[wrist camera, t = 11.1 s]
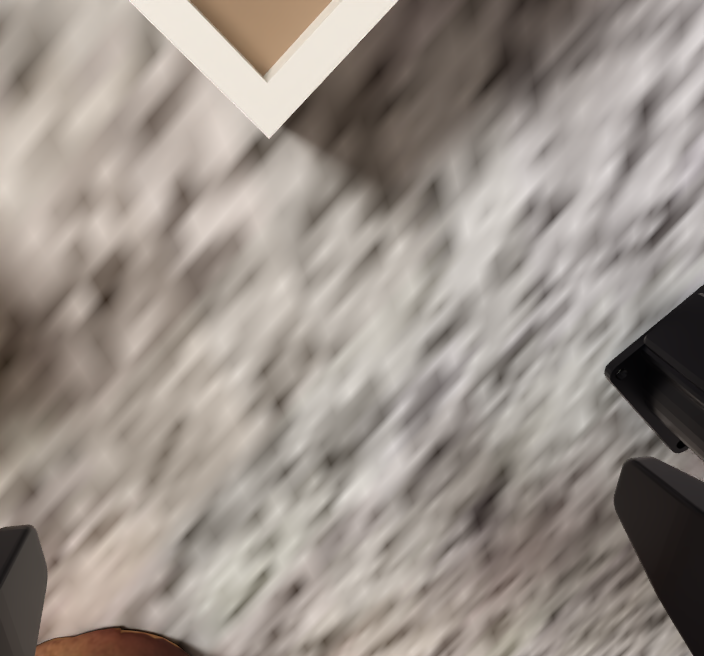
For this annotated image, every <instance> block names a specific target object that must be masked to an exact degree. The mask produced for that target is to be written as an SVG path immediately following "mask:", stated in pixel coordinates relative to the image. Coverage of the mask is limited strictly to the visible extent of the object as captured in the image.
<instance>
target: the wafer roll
mask: <svg viewBox="0 0 704 656" xmlns="http://www.w3.org/2000/svg"><path fill="white" fill-rule="evenodd" d="M35 656H189V655H188V654H187V653H186V652H185V651H184V650H183V649H181V648H180V647H179V646H178V645H176V644H174V643H172V642H170V641H169V640H167V639H165V638H162V637H159V636H156V635H153V634H148V633H144V632H138V631H130V630H121V627H119V628H110V629H103V630H96V631H92V632H88V633H84V634H81V635H78V636H75V637H63V638H54V639H51V640H48V641H46V642H43V643H41V644H39V645H37V646H36V652H35Z"/></svg>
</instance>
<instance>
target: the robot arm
mask: <svg viewBox="0 0 704 656" xmlns="http://www.w3.org/2000/svg"><path fill="white" fill-rule="evenodd" d="M619 370H621V371H620V372H619V373H618V374H616V373H617V372H618V371H619ZM605 376H606V378H607V379H608V380H609V381H610V382H611V383H612V385H613V386H614V387H615V388H616V389H617V390H618V391H619V392H620V394H621V395H622V396H623V397H624V398H625V399H626V400H627V401H628V403H629V404H630V405H631V406H632V407H633V408H634V409H635V410H636V412H637V413H638V414H639V415H640V416H641V417H642V418H643V419H644V421H645V422H646V423H647V424H648V425H649V426H650V427H651V428H652V430H653V431H654V432H655V433H656V434H657V435H658V436H659V437H660V438H661V440H662V441H663V442H664V443H665V444H666V445H667V446H668V447H669V448H670V449H671V450H672V451H673V452H675V453H681V452H684V451H685V450H687V449H688V448H690V449H691V450H692V451H693V452H694V453H695V454H696V455H697V456H698V457H699V458H700V459H702V460H703V461H704V285H703V286H701V287H700V288H699V289H698V290H697V291H695V292H694V293H693V294H692V295H691V296H689V297H688V298H687V299H686V300H685V301H683V302H682V303H681V304H680V305H678V306H677V307H676V308H675V309H674V310H672V311H671V312H670V313H669V314H668V315H666V316H665V317H664V318H663V319H662V320H660V321H659V322H658V323H657V324H656V325H654V326H653V327H652V328H651V329H649V330H648V331H647V332H646V333H645V334H643V335H642V336H641V337H640V338H639V339H637V340H636V341H635V342H634V343H633V344H631V345H630V346H629V347H628V348H626V349H625V350H624V351H623V352H622V353H620V354H619V355H618V356H617V357H616V358H614V359H613V360H612V361H611V362H610V363H609V364H608V365H607V366H606V368H605ZM614 506H615V510H616V513H617V515H618V517H619V519H620V521H621V523H622V525H623V527H624V529H625V531H626V533H627V535H628V537H629V540H630V542H631V544H632V546H633V548H634V550H635V552H636V554H637V556H638V558H639V560H640V562H641V564H642V566H643V568H644V570H645V572H646V574H647V577H648V579H649V581H650V583H651V585H652V587H653V588H654V590H655V592H656V594H657V596H658V598H659V600H660V601H661V603H662V605H663V607H664V608H665V610H666V612H667V613H668V615H669V617H670V618H671V620H672V622H673V623H674V625H675V627H676V628H677V630H678V631H679V633H680V635H681V636H682V638H683V640H684V641H685V643H686V645H687V646H688V648H689V650H690V651H691V653H692V654H693V656H704V482H702V481H700V480H698V479H696V478H694V477H692V476H690V475H688V474H686V473H684V472H682V471H680V470H678V469H676V468H674V467H672V466H670V465H668V464H666V463H664V462H662V461H660V460H658V459H656V458H654V457H638V458H630V459H628V460H626V461H625V463H624V464H623V466H622V470H621V473H620V477H619V480H618V484H617V487H616V490H615V494H614ZM47 577H48V575H47V565H46V562H45V558H44V555H43V551H42V548H41V544H40V541H39V537H38V534H37V531H36V529H35V528H34V526H32V525H19V526H10V527H4V528H1V529H0V656H35V652H36V646H37V640H38V634H39V628H40V622H41V616H42V610H43V604H44V598H45V593H46V587H47Z"/></svg>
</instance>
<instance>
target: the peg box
mask: <svg viewBox="0 0 704 656" xmlns="http://www.w3.org/2000/svg"><path fill="white" fill-rule="evenodd" d="M129 1H130V2H131V3H132V4H133V5H134V6H135V7H136V8H137V9H138V10H139V11H140V12H141V13H142V14H143V15H144V16H145V17H146V18H147V19H148V20H149V21H150V22H151V23H152V24H153V25H154V26H155V27H156V28H157V29H158V30H159V31H160V32H161V33H162V34H163V35H164V36H165V37H166V38H167V39H168V40H169V41H170V42H171V43H172V44H173V45H174V46H175V47H176V48H177V49H178V50H179V51H180V52H181V53H182V54H183V55H184V56H185V57H186V58H188V59H189V60H190V61H191V62H192V63H193V64H194V65H195V66H196V67H197V68H198V69H199V70H200V71H201V72H202V73H203V74H204V75H205V76H206V77H207V78H208V79H209V80H210V81H211V82H212V83H213V84H214V85H215V86H216V87H217V88H218V89H219V90H220V91H221V92H222V93H223V94H224V95H225V96H226V97H227V98H228V99H229V100H230V101H231V102H232V103H233V104H234V105H235V106H236V107H237V108H238V109H239V110H240V111H241V112H242V113H243V114H244V115H245V116H246V117H248V118H249V119H250V120H251V121H252V122H253V123H254V124H255V125H256V126H257V127H258V128H259V129H260V130H261V131H262V132H263V133H264V134H265V135H266V136H267V137H268V138H270V137H271V136H272V135H273V134H274V133H275V132H276V131H277V130H278V129H279V128H280V126H281V125H282V124H283V123H284V122H285V121H286V120H287V119H288V118H289V117H290V116H291V115H292V114H293V113H294V111H295V110H296V109H297V108H298V107H299V106H300V105H301V104H302V103H303V102H304V101H305V100H306V99H307V98H308V97H309V95H310V94H311V93H312V92H313V91H314V90H315V89H316V88H317V87H318V86H319V85H320V84H321V83H322V82H323V80H324V79H325V78H326V77H327V76H328V75H329V74H330V73H331V72H332V71H333V70H334V69H335V68H336V67H337V66H338V64H339V63H340V62H341V61H342V60H343V59H344V58H345V57H346V56H347V55H348V54H349V53H350V52H351V51H352V49H353V48H354V47H355V46H356V45H357V44H358V43H359V42H360V41H361V40H362V39H363V38H364V37H365V36H366V35H367V33H368V32H369V31H370V30H371V29H372V28H373V27H374V26H375V25H376V24H377V23H378V22H379V21H380V20H381V18H382V17H383V16H384V15H385V14H386V13H387V12H388V11H389V10H390V9H391V8H392V7H393V6H394V5H395V3H396V2H397V1H398V0H129Z"/></svg>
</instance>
